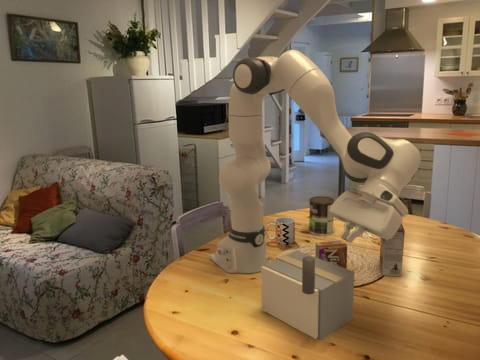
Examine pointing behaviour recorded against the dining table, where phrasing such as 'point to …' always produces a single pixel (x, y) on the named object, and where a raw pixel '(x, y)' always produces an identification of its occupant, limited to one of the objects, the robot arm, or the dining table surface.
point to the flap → (292, 297)
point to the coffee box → (392, 254)
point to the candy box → (332, 252)
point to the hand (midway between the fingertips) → (345, 240)
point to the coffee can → (321, 216)
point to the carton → (323, 289)
